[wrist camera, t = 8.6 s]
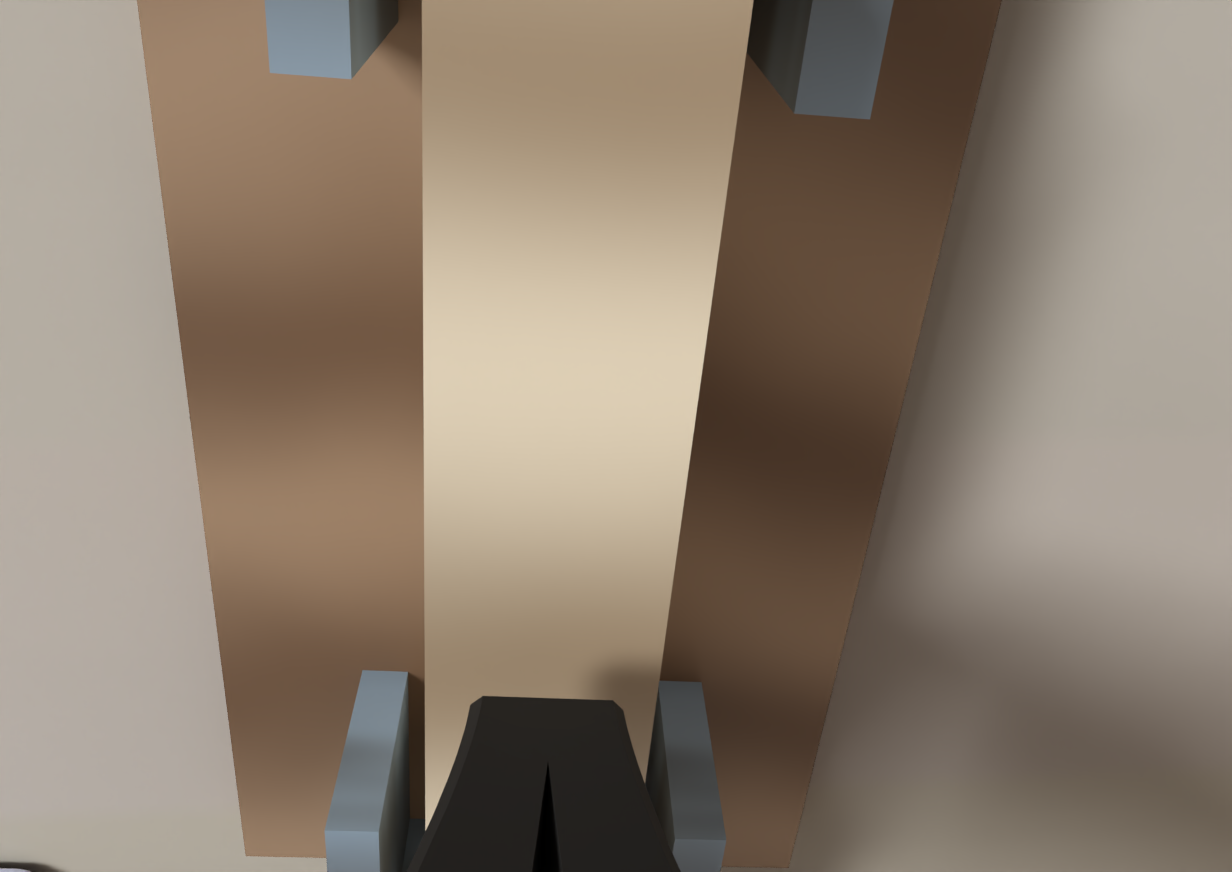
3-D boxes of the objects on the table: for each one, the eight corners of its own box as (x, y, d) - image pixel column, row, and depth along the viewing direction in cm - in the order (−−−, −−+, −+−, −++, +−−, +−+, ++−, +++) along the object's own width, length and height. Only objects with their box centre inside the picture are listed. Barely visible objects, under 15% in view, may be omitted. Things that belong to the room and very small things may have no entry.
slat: (591, 778, 21) (601, 1100, 16) (461, 775, 21) (426, 1099, 15) (690, -171, 13) (776, -162, 8) (479, -191, 13) (420, -197, 7)
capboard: (780, 828, 23) (823, 1033, 19) (258, 815, 22) (193, 1026, 18) (1062, -382, 13) (1282, -471, 9) (106, -495, 12) (-116, -645, 8)
